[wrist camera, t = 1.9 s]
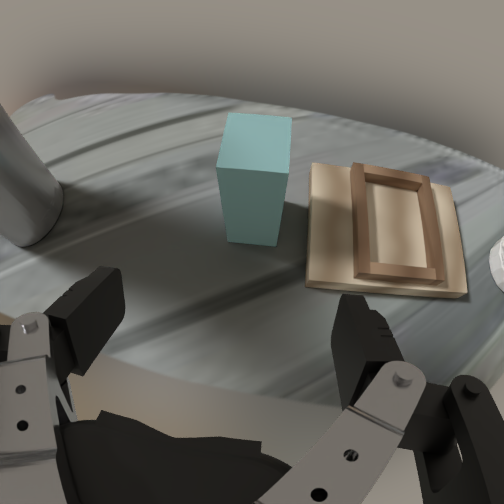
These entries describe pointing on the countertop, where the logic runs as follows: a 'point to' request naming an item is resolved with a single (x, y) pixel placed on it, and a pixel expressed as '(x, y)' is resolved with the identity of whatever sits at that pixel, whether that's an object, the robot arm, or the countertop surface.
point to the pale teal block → (254, 176)
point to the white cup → (497, 263)
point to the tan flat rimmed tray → (382, 233)
